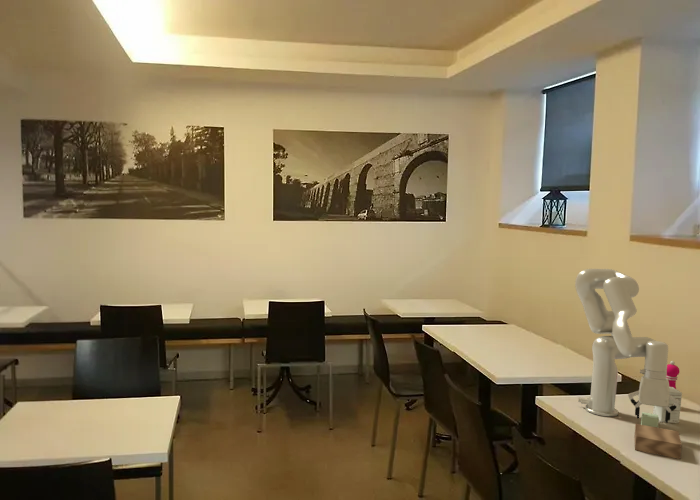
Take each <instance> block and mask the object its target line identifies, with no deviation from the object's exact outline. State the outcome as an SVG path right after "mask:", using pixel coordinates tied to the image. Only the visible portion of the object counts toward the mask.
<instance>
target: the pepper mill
mask: <svg viewBox="0 0 700 500" xmlns="http://www.w3.org/2000/svg"><path fill="white" fill-rule="evenodd" d="M679 374H680V368H679V367H678V366H677V365H676V363H675V361H674V360H671V361H670V362H669V363H667V375H666V379H668V381H669V387H673V388H675V389H677V387H676V386H677V385H676V383H677V381H678V375H679Z"/></svg>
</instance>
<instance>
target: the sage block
mask: <svg viewBox="0 0 700 500" xmlns="http://www.w3.org/2000/svg"><path fill="white" fill-rule="evenodd" d="M659 421H660V420H659V417H658V415H656V414H653V413H649V412H645V411H642V412H641V421H640V425H646V426H651V427H657V428H659Z"/></svg>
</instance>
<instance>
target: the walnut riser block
mask: <svg viewBox="0 0 700 500" xmlns="http://www.w3.org/2000/svg"><path fill="white" fill-rule="evenodd" d="M679 433H680V431H679V430H678V431H677V430H674V429H673V430H672V429H667V428H661V427H658V428H657V427H651V426H646V425H641V423H640V424H639V423H635V426H634V437H633V438H634V439H633V440H634V451H637V452H644V453H647V454H652V455H653V454H654V455H657V454H658V456H662V455H663V456H664V457H668V458H673V459H679V460H681V456H682V455H681V454H682V446H683V444H682V441H681V436H680V434H679Z"/></svg>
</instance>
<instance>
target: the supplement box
mask: <svg viewBox="0 0 700 500" xmlns="http://www.w3.org/2000/svg"><path fill="white" fill-rule="evenodd" d="M669 395H670V396H672V397H674V398H675V399H677V400H679V402H680V403H679V405H678V406H677V407H676V409H674V410H673V411H672V412H671V413H670V420H668V423H673V424H674V423H675V424H679V422H680V415H681V407H682V398H683V392H681V391H680V390H679V389H677V388H676V389H675V388H673V387H669ZM673 404H674V402H673V401H671V400H670V399H669V407H671V406H672V405H673ZM666 410H667V409H666V408H665V407H658V406H653V411H652V414H656V415H658V417H659V421H660V422H662V423H666V422H665V415H666Z"/></svg>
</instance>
